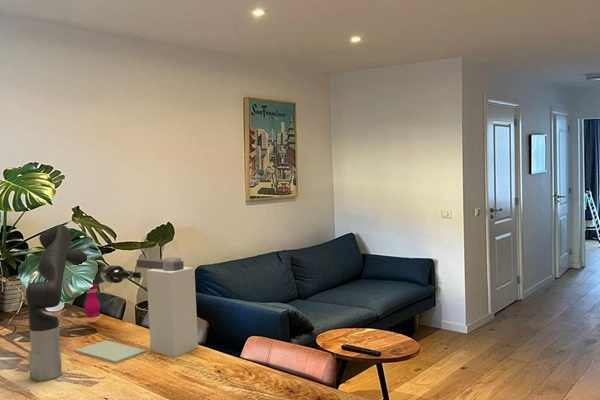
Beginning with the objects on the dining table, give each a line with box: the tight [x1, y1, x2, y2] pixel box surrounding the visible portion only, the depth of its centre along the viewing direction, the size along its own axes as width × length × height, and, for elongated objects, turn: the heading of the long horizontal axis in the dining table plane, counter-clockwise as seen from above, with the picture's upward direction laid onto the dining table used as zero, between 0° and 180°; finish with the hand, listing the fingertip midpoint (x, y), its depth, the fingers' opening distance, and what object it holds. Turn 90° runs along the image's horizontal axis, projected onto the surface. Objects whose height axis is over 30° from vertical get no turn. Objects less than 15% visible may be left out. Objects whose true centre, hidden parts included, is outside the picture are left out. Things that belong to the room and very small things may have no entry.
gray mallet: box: [136, 257, 185, 271], centre depth 213 cm, size 7×22×4 cm, turn 58°
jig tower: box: [146, 266, 199, 358], centre depth 211 cm, size 12×14×32 cm
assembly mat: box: [74, 339, 147, 365], centre depth 211 cm, size 14×26×1 cm, turn 55°
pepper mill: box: [84, 284, 101, 318], centre depth 269 cm, size 7×7×20 cm
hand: (130, 275), depth 225 cm, fingers open, 8 cm apart
